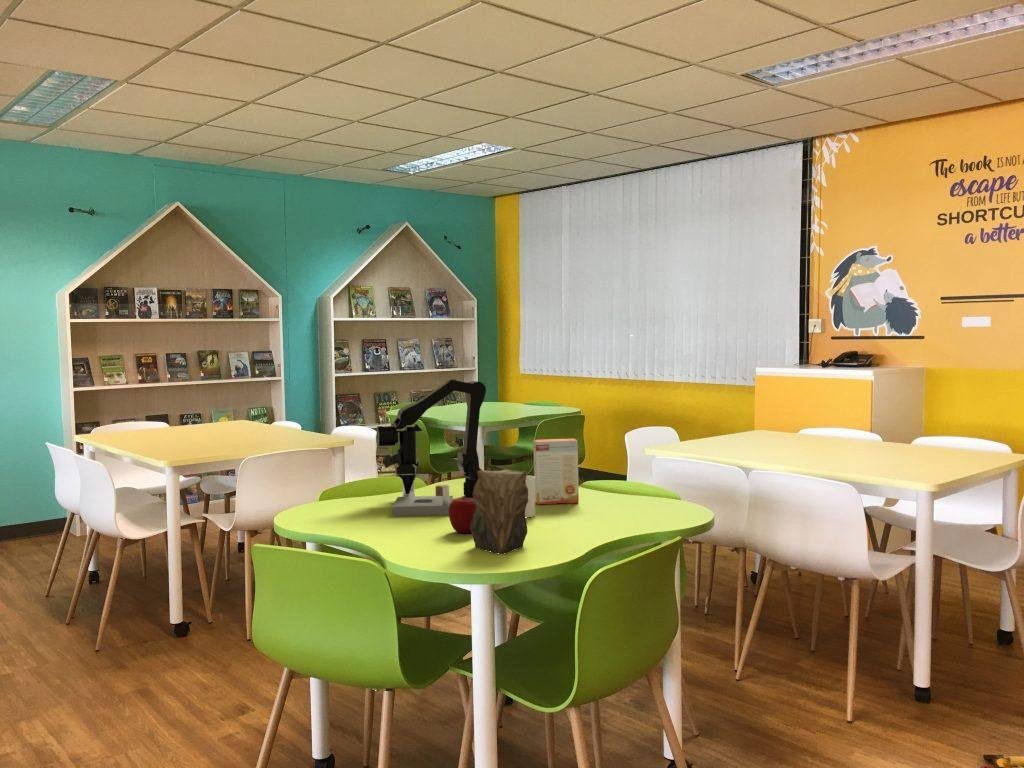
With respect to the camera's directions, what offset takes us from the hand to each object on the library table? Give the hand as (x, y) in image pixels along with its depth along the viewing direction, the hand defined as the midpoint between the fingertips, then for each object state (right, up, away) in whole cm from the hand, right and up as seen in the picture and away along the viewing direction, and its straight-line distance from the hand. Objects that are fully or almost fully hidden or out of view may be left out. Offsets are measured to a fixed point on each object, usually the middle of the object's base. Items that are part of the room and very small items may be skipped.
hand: (408, 491), depth 282 cm
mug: (+37, -5, -26) cm, 45 cm away
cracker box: (+49, -3, -5) cm, 50 cm away
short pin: (+11, -3, +1) cm, 11 cm away
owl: (+31, -7, -64) cm, 71 cm away
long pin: (0, -4, 0) cm, 4 cm away
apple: (+22, -6, -45) cm, 50 cm away
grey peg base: (+6, -4, -15) cm, 16 cm away
